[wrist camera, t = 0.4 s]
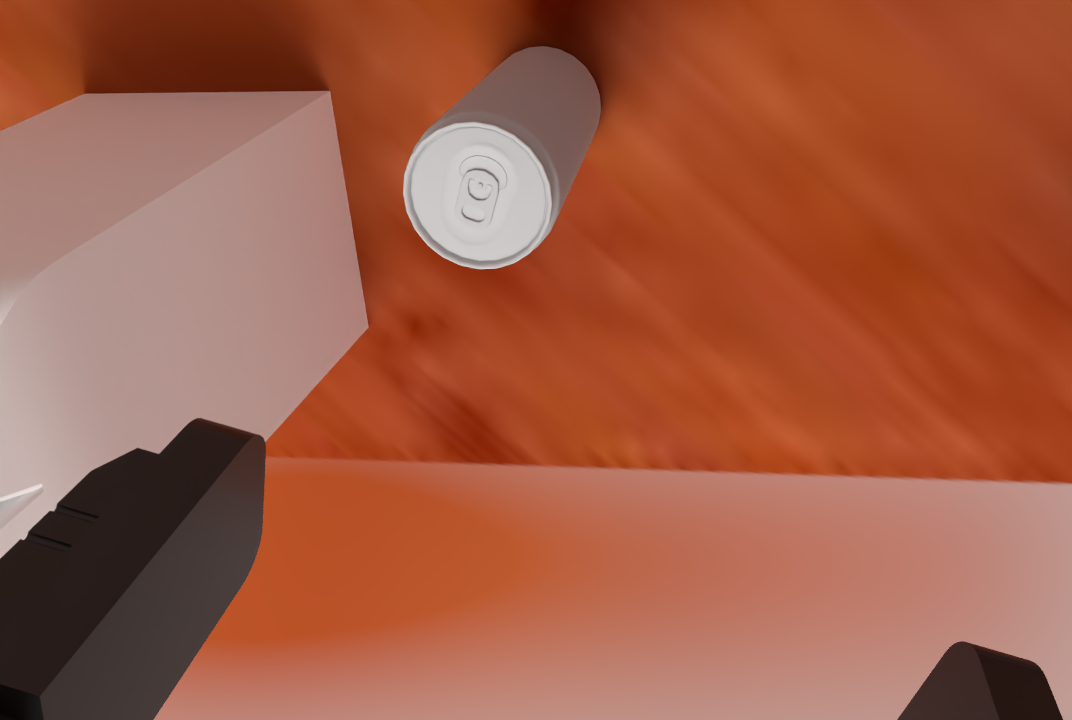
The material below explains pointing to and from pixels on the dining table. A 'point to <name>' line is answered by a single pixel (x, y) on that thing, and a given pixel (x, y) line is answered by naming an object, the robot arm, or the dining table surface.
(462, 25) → the dining table surface
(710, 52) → the dining table surface
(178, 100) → the milk
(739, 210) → the dining table surface
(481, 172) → the beverage can
